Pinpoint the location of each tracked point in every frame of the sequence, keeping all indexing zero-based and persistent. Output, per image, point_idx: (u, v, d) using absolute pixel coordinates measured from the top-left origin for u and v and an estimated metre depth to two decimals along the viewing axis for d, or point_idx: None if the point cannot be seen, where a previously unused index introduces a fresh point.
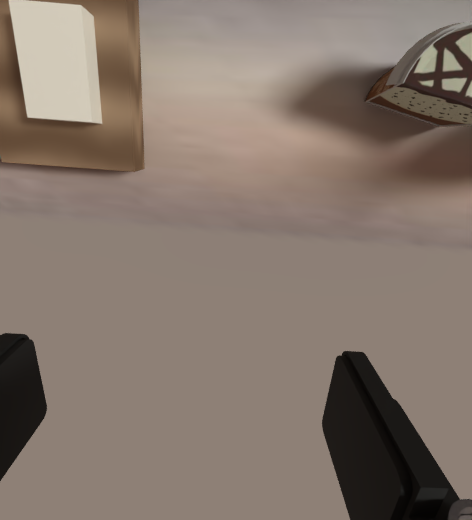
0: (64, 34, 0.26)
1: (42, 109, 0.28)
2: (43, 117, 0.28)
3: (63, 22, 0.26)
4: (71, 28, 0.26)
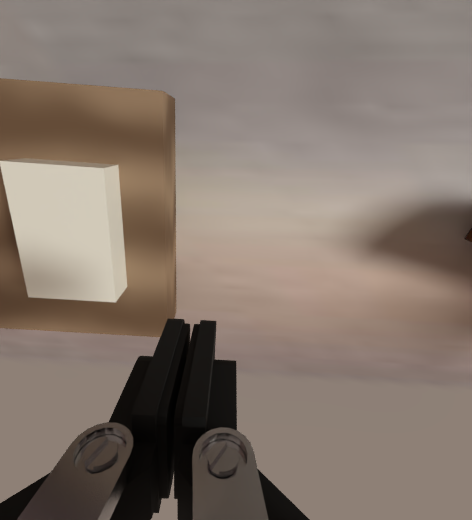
0: (79, 203, 0.18)
1: (49, 288, 0.21)
2: (50, 297, 0.21)
3: (78, 189, 0.18)
4: (89, 196, 0.18)
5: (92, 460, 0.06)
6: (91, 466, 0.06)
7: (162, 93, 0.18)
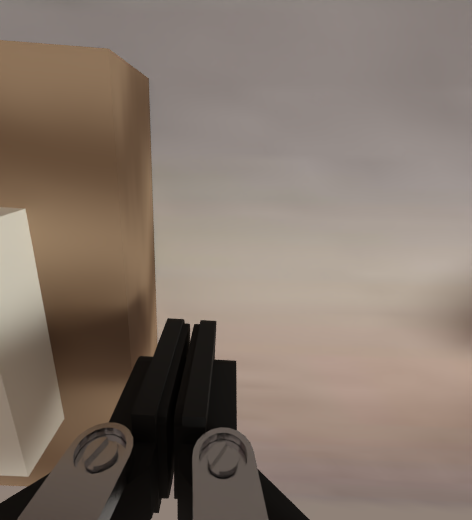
0: None
1: None
2: None
3: None
4: None
5: (92, 460, 0.06)
6: (91, 466, 0.06)
7: (109, 55, 0.08)
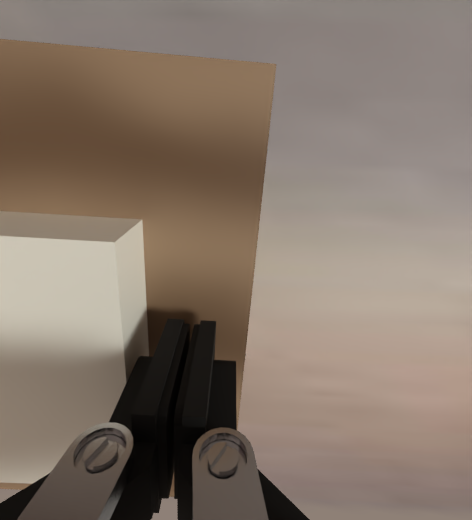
0: (58, 316, 0.08)
1: (0, 467, 0.10)
2: (3, 481, 0.10)
3: (54, 287, 0.08)
4: (81, 301, 0.08)
5: (92, 460, 0.06)
6: (91, 466, 0.06)
7: (274, 70, 0.08)
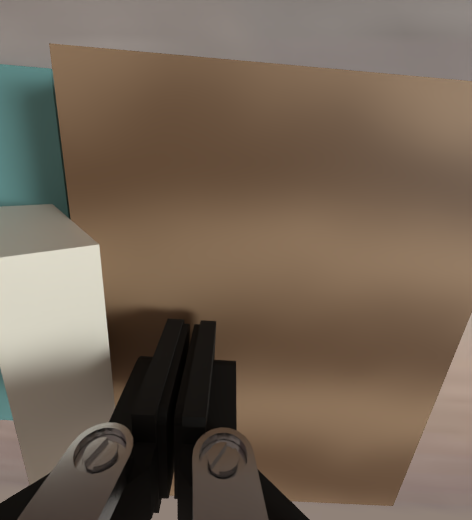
0: None
1: None
2: None
3: None
4: None
5: (92, 460, 0.06)
6: (91, 466, 0.06)
7: None
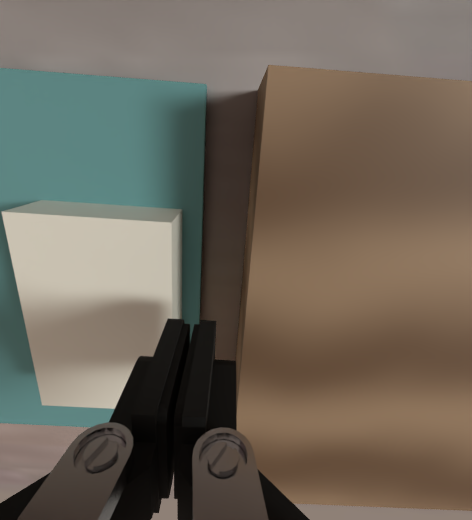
0: None
1: None
2: None
3: None
4: None
5: (92, 460, 0.06)
6: (91, 466, 0.06)
7: None
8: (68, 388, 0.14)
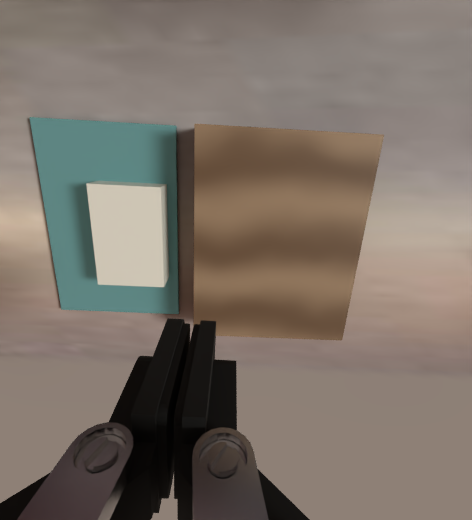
0: None
1: None
2: None
3: None
4: None
5: (92, 460, 0.06)
6: (91, 466, 0.06)
7: (382, 136, 0.23)
8: (111, 274, 0.27)
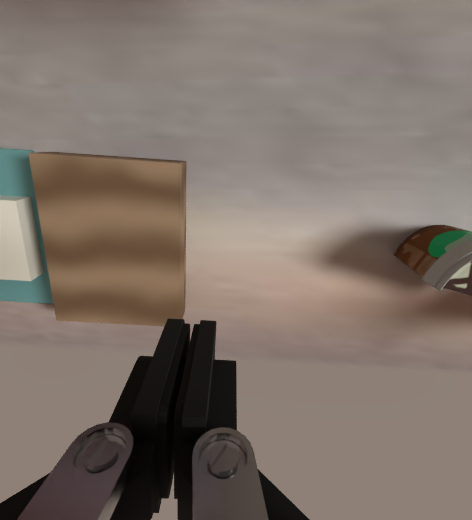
0: None
1: None
2: None
3: None
4: None
5: (92, 460, 0.06)
6: (91, 466, 0.06)
7: (179, 164, 0.29)
8: None
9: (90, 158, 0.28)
